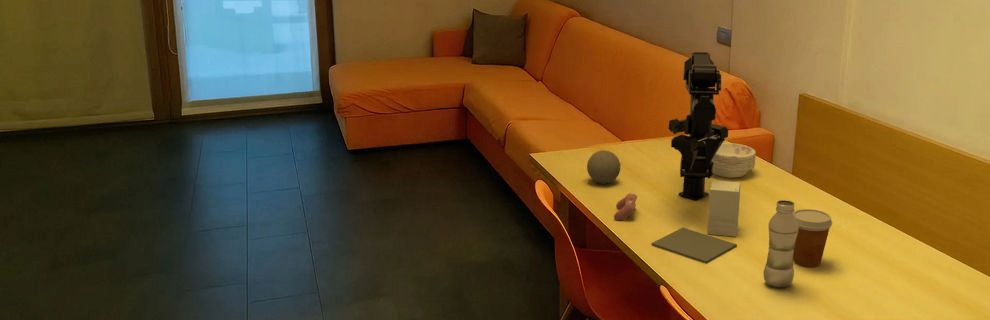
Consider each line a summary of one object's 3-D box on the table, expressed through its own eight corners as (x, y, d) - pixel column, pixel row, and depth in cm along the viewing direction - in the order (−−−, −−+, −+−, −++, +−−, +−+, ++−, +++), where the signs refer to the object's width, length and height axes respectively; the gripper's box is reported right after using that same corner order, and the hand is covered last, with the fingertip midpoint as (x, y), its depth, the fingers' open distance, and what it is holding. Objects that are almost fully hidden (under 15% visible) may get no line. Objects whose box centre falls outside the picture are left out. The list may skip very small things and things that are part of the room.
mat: (682, 229, 237) (682, 227, 237) (736, 246, 227) (736, 244, 226) (651, 245, 228) (651, 243, 228) (706, 263, 217) (706, 261, 217)
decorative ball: (580, 184, 271) (581, 152, 268) (596, 175, 279) (596, 144, 276) (610, 190, 266) (611, 158, 263) (625, 180, 274) (626, 149, 271)
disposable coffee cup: (807, 273, 212) (812, 226, 208) (777, 258, 220) (781, 212, 216) (836, 265, 216) (841, 218, 212) (806, 250, 224) (811, 205, 220)
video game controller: (627, 227, 244) (639, 206, 241) (612, 219, 244) (624, 198, 241) (629, 213, 253) (641, 193, 250) (614, 205, 253) (626, 185, 250)
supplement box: (738, 227, 239) (741, 182, 235) (735, 237, 232) (739, 191, 228) (709, 223, 241) (712, 179, 237) (706, 234, 234) (709, 188, 230)
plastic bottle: (758, 279, 209) (765, 198, 203) (786, 277, 210) (794, 197, 203) (768, 291, 203) (776, 208, 197) (797, 290, 203) (806, 207, 197)
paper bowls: (760, 170, 282) (762, 146, 279) (745, 184, 269) (746, 159, 267) (713, 162, 289) (714, 138, 287) (696, 176, 277) (697, 151, 275)
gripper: (696, 100, 252) (693, 153, 257) (655, 113, 239) (653, 168, 244) (731, 107, 244) (727, 162, 249) (691, 121, 232) (687, 178, 237)
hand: (698, 167), depth 245 cm, fingers open, 9 cm apart
